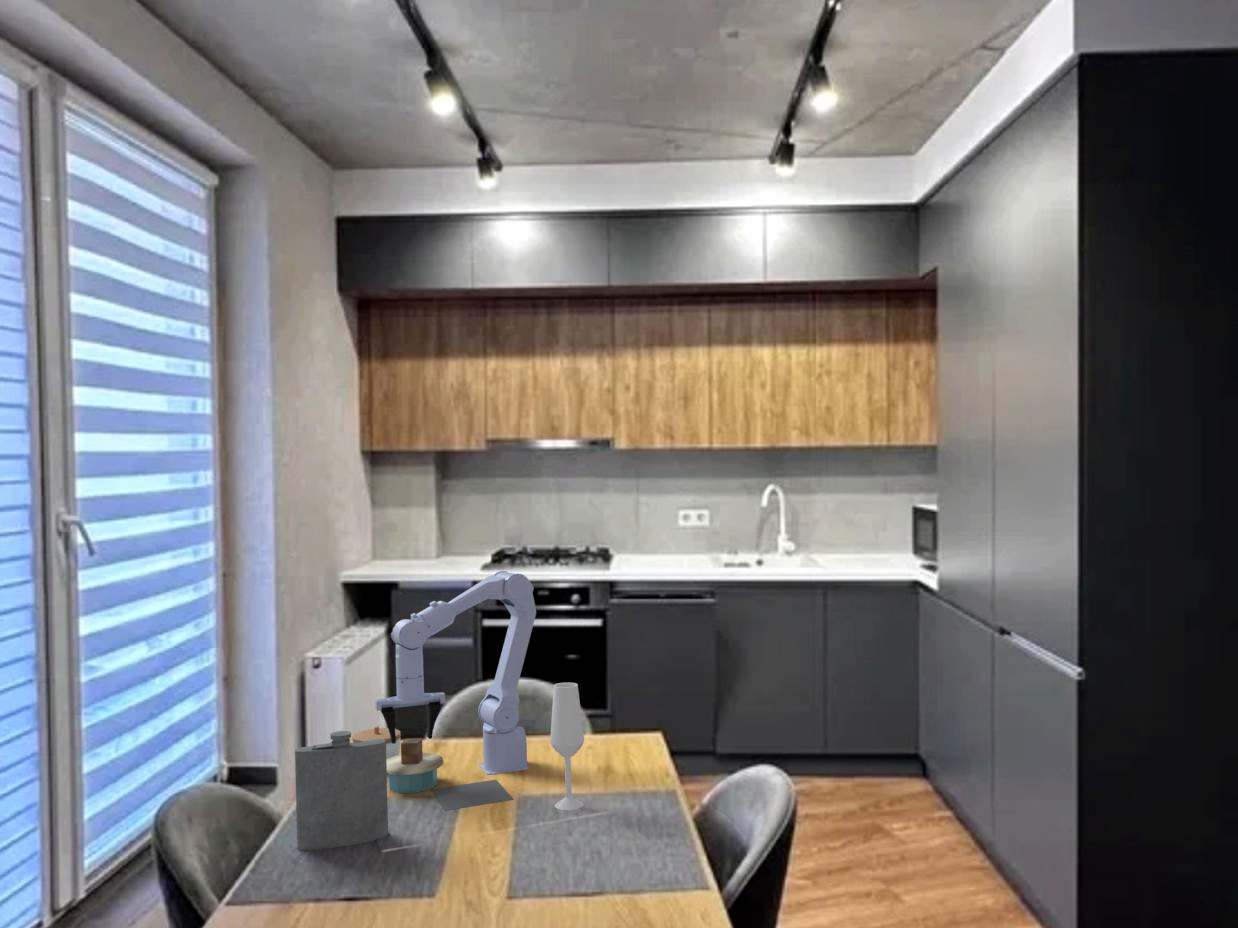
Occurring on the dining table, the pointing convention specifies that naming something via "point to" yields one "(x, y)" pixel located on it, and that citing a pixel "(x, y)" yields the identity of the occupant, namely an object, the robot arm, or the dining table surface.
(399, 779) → the bowl
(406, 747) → the lid
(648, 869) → the dining table surface
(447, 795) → the mat
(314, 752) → the hip flask
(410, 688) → the robot arm
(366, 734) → the lidded jar
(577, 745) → the champagne flute
